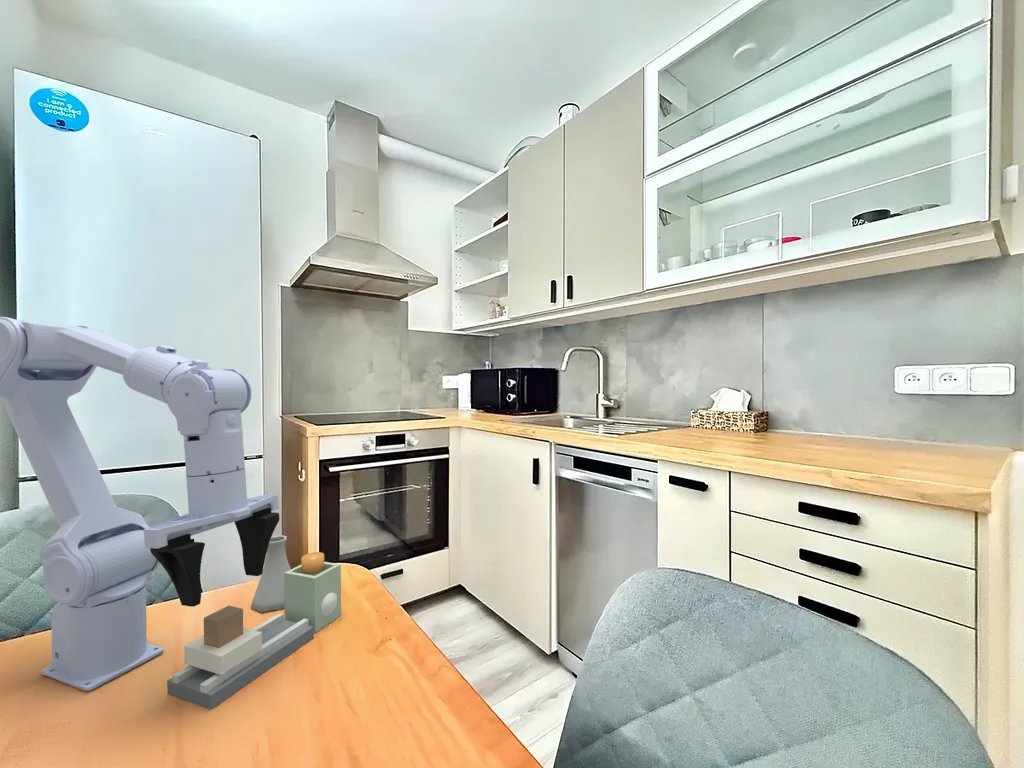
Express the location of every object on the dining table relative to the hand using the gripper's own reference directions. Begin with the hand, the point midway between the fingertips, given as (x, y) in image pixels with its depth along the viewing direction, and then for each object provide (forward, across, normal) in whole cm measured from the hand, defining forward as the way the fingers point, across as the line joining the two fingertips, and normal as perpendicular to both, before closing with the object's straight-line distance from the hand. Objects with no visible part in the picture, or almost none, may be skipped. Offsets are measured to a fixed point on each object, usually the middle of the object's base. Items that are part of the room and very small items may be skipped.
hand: (224, 588), depth 51 cm
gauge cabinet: (+11, +14, +1) cm, 17 cm away
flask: (+10, +16, +11) cm, 22 cm away
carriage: (+8, 0, +1) cm, 8 cm away
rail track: (+11, +3, +1) cm, 11 cm away
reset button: (+3, +14, +1) cm, 14 cm away
